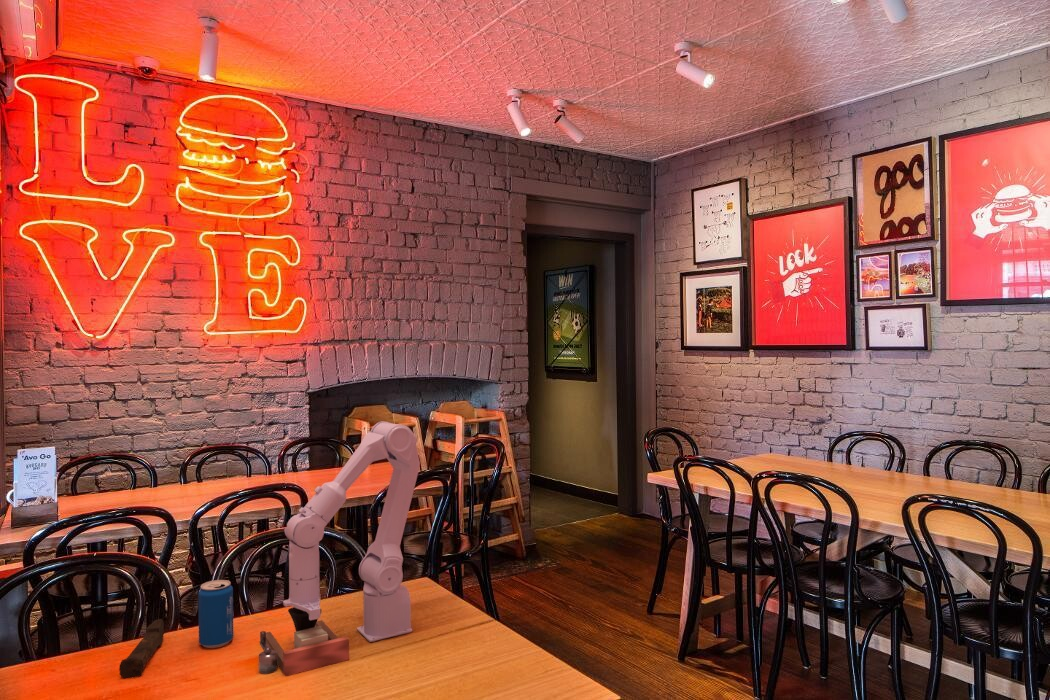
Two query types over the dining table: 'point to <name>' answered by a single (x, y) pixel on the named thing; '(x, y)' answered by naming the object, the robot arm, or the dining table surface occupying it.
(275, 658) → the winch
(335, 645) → the bay
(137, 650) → the dark brown rough bar
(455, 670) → the dining table surface
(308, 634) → the crate
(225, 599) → the beverage can
